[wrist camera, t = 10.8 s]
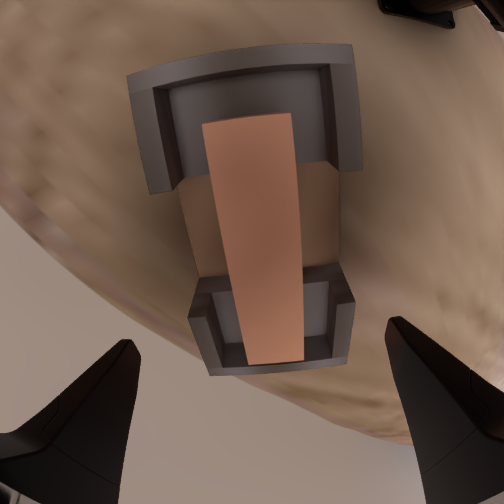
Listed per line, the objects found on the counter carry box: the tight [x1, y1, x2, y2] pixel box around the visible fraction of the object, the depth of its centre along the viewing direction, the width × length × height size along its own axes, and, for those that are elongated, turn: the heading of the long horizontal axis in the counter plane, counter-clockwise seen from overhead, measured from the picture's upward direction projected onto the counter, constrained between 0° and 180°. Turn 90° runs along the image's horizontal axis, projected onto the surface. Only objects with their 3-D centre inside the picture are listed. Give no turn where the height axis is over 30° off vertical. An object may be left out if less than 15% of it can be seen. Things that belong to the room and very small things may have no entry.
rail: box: [202, 112, 304, 365], centre depth 15 cm, size 14×4×4 cm, turn 7°
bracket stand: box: [127, 43, 362, 376], centre depth 17 cm, size 10×20×6 cm, turn 7°
